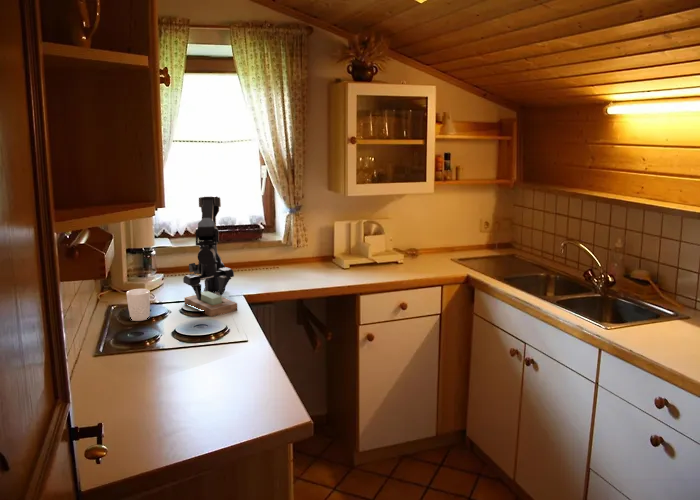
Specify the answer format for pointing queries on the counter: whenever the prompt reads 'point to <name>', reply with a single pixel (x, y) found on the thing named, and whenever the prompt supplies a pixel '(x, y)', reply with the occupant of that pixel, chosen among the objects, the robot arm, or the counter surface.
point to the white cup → (138, 304)
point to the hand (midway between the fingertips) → (210, 297)
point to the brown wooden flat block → (212, 306)
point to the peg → (211, 298)
